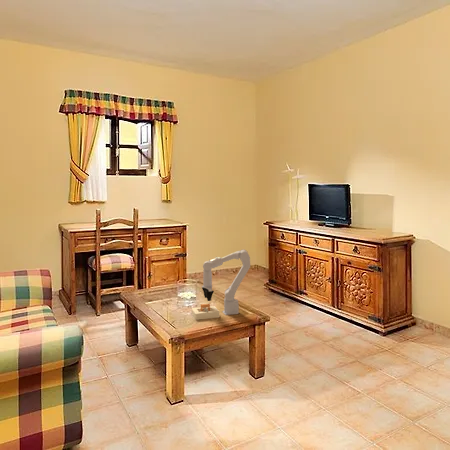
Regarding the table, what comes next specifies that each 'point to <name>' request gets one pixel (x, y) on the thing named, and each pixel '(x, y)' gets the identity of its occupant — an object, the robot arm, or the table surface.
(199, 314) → the cream frame with crossbar
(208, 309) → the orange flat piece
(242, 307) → the table surface
